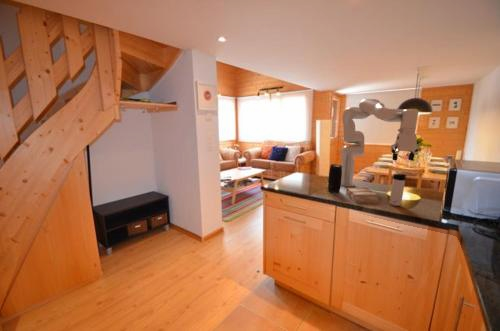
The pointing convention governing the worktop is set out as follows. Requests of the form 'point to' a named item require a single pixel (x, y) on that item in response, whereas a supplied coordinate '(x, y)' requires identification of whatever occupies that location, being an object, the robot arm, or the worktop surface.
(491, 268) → the worktop surface
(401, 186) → the travel mug
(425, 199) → the worktop surface
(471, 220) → the worktop surface
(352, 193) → the wood stand
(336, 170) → the portable speaker
